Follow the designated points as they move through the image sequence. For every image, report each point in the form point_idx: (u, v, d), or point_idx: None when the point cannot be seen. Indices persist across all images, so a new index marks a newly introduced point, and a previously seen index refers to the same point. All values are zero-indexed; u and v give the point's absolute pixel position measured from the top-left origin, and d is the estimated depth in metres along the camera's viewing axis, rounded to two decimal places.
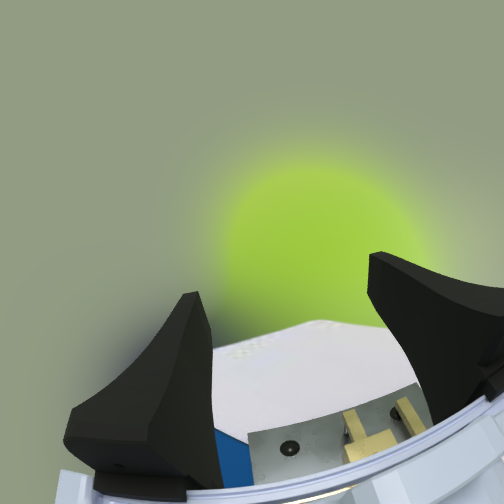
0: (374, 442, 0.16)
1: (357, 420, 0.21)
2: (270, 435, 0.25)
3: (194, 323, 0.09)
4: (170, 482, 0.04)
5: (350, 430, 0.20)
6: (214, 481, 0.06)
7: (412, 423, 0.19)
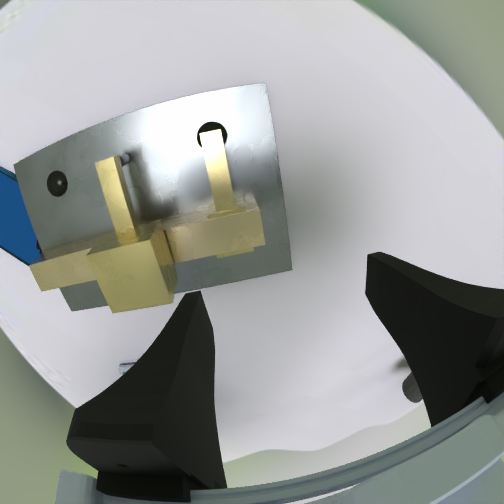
0: (125, 258, 0.14)
1: (116, 181, 0.14)
2: (34, 163, 0.16)
3: (197, 322, 0.09)
4: (174, 482, 0.04)
5: (106, 199, 0.14)
6: (217, 481, 0.06)
7: (215, 189, 0.16)
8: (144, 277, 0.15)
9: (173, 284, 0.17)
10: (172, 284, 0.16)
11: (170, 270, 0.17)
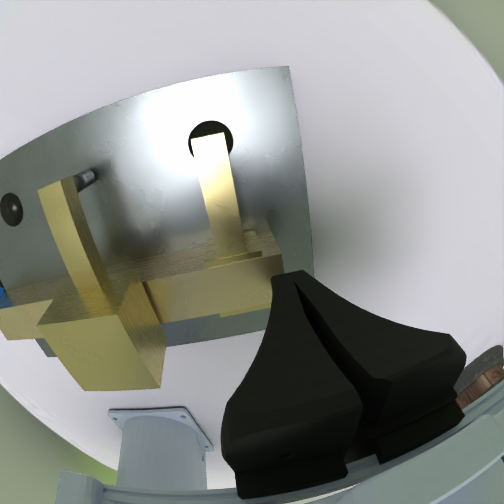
0: (87, 335, 0.09)
1: (67, 218, 0.09)
2: None
3: None
4: (336, 458, 0.04)
5: (57, 243, 0.09)
6: None
7: (216, 225, 0.11)
8: (117, 359, 0.09)
9: (160, 357, 0.11)
10: (159, 359, 0.11)
11: (155, 339, 0.11)
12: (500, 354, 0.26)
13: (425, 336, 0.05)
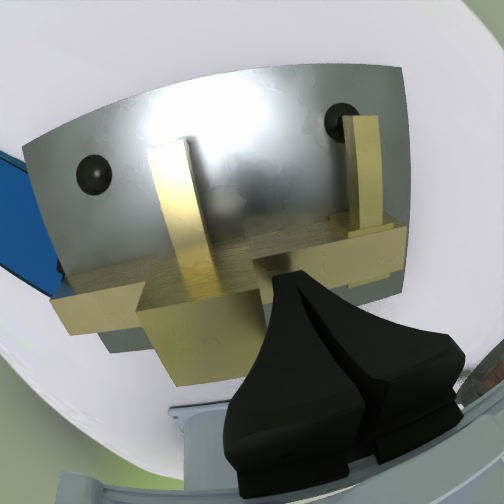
0: (210, 317, 0.09)
1: (186, 184, 0.09)
2: (56, 143, 0.10)
3: None
4: (337, 458, 0.04)
5: (164, 213, 0.09)
6: None
7: (364, 197, 0.11)
8: (239, 342, 0.09)
9: None
10: None
11: None
12: None
13: (424, 337, 0.05)
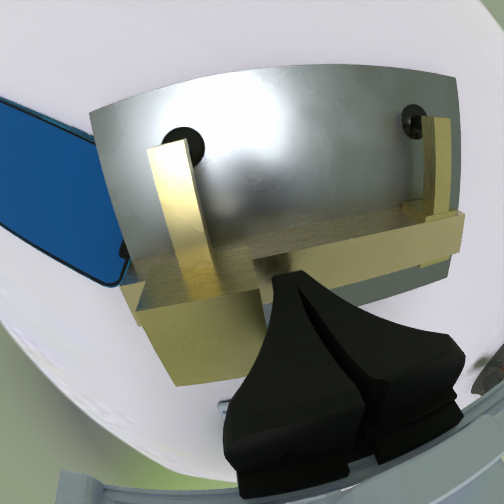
0: (210, 317, 0.09)
1: (186, 184, 0.09)
2: (136, 111, 0.11)
3: None
4: (338, 458, 0.04)
5: (165, 213, 0.09)
6: None
7: (438, 186, 0.11)
8: (239, 342, 0.09)
9: None
10: None
11: None
12: None
13: (424, 336, 0.05)
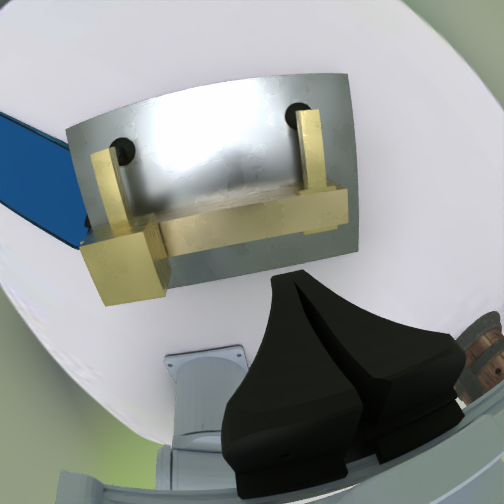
0: (118, 250, 0.14)
1: (111, 173, 0.14)
2: (94, 128, 0.15)
3: None
4: (336, 458, 0.04)
5: (100, 191, 0.14)
6: None
7: (310, 165, 0.16)
8: (137, 270, 0.14)
9: (167, 277, 0.16)
10: (165, 277, 0.16)
11: (163, 263, 0.16)
12: (497, 319, 0.32)
13: (425, 336, 0.05)
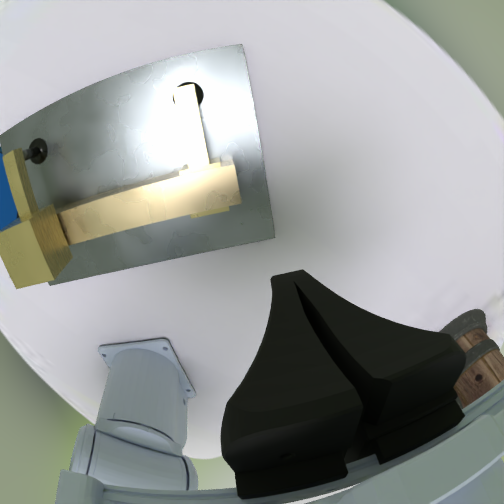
0: (16, 237, 0.12)
1: (16, 171, 0.12)
2: (18, 133, 0.14)
3: None
4: (336, 458, 0.04)
5: (10, 187, 0.13)
6: None
7: (188, 144, 0.15)
8: (30, 255, 0.13)
9: (62, 263, 0.15)
10: (59, 263, 0.15)
11: (59, 250, 0.15)
12: (481, 318, 0.30)
13: (425, 336, 0.05)
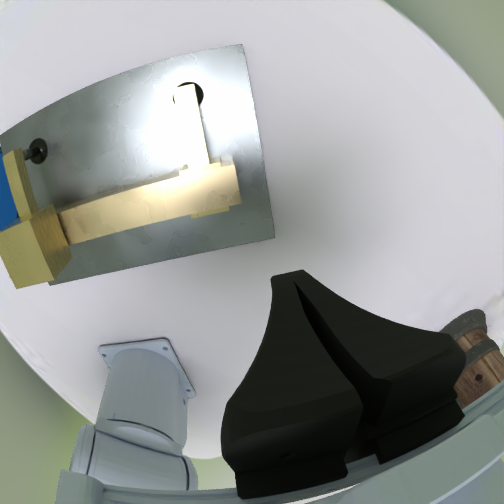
0: (16, 237, 0.12)
1: (16, 171, 0.12)
2: (18, 133, 0.14)
3: None
4: (336, 458, 0.04)
5: (10, 187, 0.13)
6: None
7: (188, 144, 0.15)
8: (30, 255, 0.13)
9: (62, 263, 0.15)
10: (59, 263, 0.15)
11: (59, 250, 0.15)
12: (481, 318, 0.30)
13: (425, 336, 0.05)
